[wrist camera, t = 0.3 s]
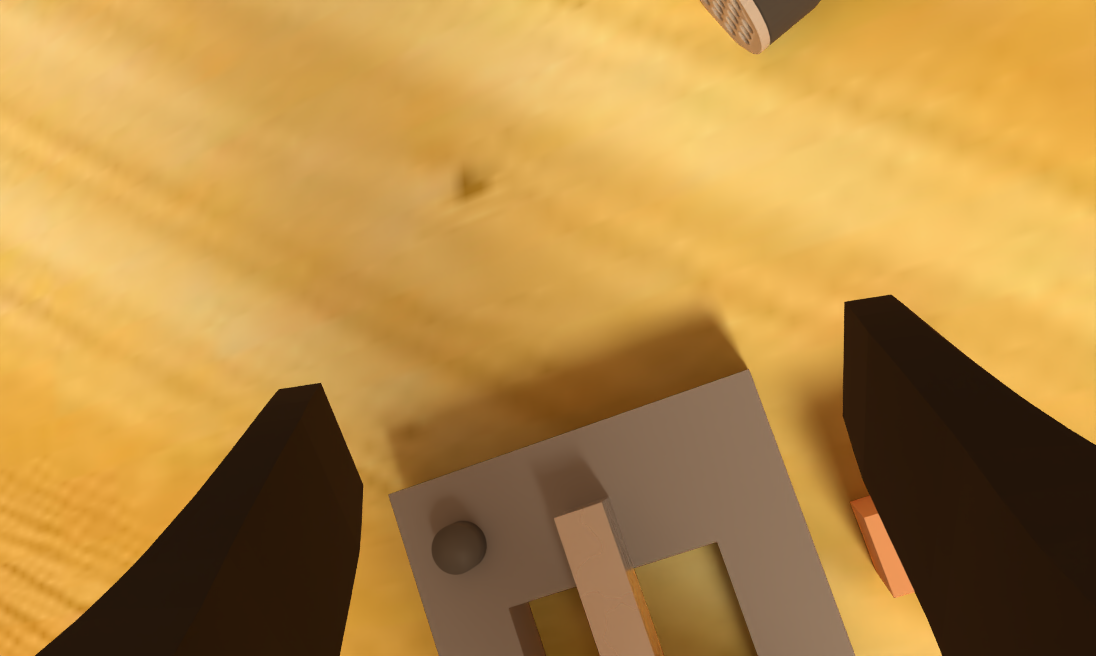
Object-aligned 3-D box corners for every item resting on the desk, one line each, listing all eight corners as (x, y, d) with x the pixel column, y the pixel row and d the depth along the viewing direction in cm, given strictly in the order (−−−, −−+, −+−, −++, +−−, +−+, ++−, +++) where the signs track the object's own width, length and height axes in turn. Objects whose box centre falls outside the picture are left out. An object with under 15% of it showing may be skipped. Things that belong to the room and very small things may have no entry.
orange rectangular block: (1023, 527, 38) (1063, 547, 33) (876, 571, 39) (894, 598, 34) (994, 455, 39) (1030, 465, 34) (849, 501, 40) (864, 517, 35)
